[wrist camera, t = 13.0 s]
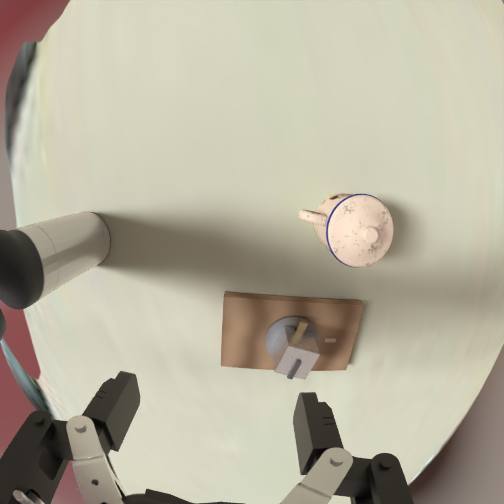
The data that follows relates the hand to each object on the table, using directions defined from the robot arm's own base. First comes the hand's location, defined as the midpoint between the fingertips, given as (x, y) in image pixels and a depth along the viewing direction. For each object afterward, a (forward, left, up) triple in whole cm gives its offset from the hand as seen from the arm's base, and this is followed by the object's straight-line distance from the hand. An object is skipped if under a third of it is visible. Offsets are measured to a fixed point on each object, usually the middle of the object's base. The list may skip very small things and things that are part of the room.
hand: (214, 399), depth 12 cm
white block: (+9, -13, -27) cm, 31 cm away
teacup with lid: (+13, +6, -30) cm, 34 cm away
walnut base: (+9, -13, -30) cm, 34 cm away
